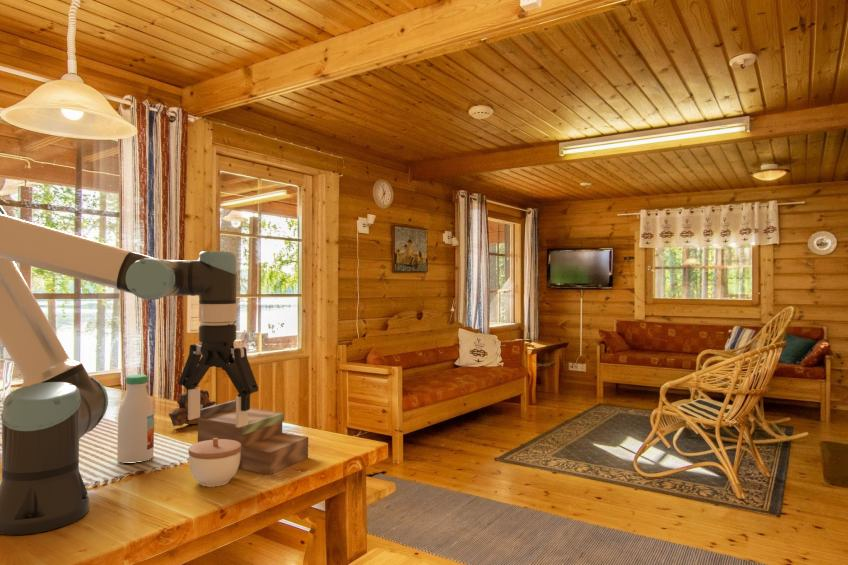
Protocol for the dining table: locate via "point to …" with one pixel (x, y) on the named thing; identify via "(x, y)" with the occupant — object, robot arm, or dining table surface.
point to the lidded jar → (214, 461)
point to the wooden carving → (181, 413)
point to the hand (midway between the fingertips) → (217, 422)
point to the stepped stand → (254, 437)
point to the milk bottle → (135, 422)
